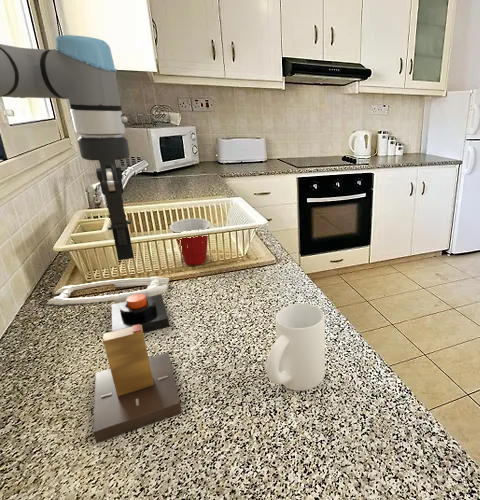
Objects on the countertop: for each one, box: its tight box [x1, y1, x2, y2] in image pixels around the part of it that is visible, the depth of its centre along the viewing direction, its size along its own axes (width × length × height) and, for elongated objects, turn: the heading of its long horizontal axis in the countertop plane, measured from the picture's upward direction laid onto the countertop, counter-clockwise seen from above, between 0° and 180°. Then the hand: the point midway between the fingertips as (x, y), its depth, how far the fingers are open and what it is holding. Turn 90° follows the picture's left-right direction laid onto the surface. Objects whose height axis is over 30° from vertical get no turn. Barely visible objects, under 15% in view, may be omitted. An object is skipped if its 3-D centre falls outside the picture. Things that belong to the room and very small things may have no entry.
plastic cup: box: [168, 217, 212, 266], centre depth 107 cm, size 11×11×12 cm
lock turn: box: [102, 324, 154, 396], centre depth 57 cm, size 5×2×10 cm, turn 121°
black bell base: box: [110, 293, 171, 334], centre depth 80 cm, size 12×10×4 cm
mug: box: [265, 303, 326, 392], centre depth 61 cm, size 8×12×12 cm
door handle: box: [46, 276, 170, 306], centre depth 89 cm, size 3×10×25 cm
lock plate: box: [92, 352, 183, 444], centre depth 59 cm, size 14×11×2 cm
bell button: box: [126, 294, 147, 309], centre depth 79 cm, size 4×4×2 cm
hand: (126, 257), depth 75 cm, fingers closed
